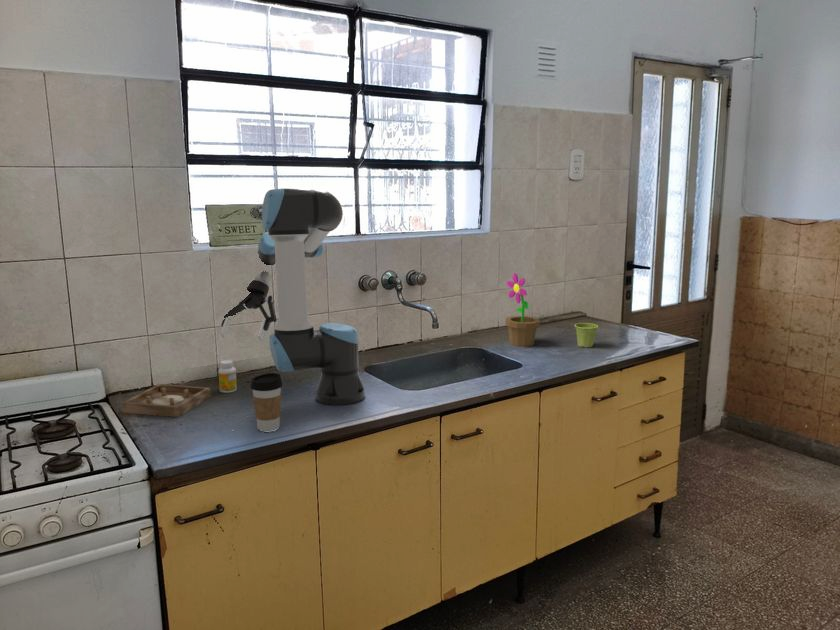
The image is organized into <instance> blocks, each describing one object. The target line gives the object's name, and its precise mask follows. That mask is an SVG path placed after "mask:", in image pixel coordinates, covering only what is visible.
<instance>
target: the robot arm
mask: <svg viewBox="0 0 840 630" xmlns="http://www.w3.org/2000/svg"><path fill="white" fill-rule="evenodd" d="M261 210H262V211H261V225H262V228H263V230H265V231H267V232H264V233H263V234H262V235H261V237H260V239H259V243H258V248H257V253H258V254H259V258H260V259H261V261H262V262H264V264H266V265H274V264H275V263H276V270H275V275H276V290H277V292H276V293H277V308H278V319H277V315H276V311H275V306H274V302H275V300H274V298H273V296H272V295H268V294H269V292H270V291H269V290H270V288H271V285H270V284H272V282H271V276H270V275H269V273H268V272H266V271H265V272H264V271H263V272H261V273H260V274H258V275H257V276H256V277H255V280H253V281H252V282H251V283H250V284H249V286H248V287H247V286H246V288H247V290H248V291H249V292H251V293H250V294H249V295H248V296H247V297H246V298H245V299H244V300H241V302H239V304H238V305H237V306H236V307H234V308H233V309H232V310H230V311H229V312H228V314H226V315H225V316H224V318H225V319H224V320H223V319H222V321H221V324H220V325H221V331H220V333H219V334H220V336H222V338H223V339H225V338H226V337H227V334H228V331H229V328H230V326H231V324H232V321H231V319H229V318H228V316H233V315H236V313H238V312H240V313H241V312H242V311H245V310H247V309H250V310H251V309H253V310H257V309H259V310H260V312H261V313H262V315H263V317H264V319H262V321H261V324H260V327H259V331H258V334H257V337H258V339H259V340H260V341H263V339H264V337H265V333H266V331H269V328H270V325H271V323H273V322H274V323H276V322H278V323H276V325H275V326H274V329H273V332H274V333H271V334H270V335H269V337H268V339H269V342H268V343H269V348H270V353H271V357H272V360H273V363H274V365H275V367H276V370H278V371H279V372H293V373H294V372H297V371H305V370H312V369H313V370H314V369H320V373H321V374H320V378H319V381H318V384H317V387H316V392H315V398H316V400H317V401H318V402H320V403H323V404H326V405H331V406H343V405H351V404H355V403H357V402H360V401H362V400H363V399H364V398H365V394H366V393H365V386H364V385H363V382H362V378H361V376H360V374H359V370H360V369H359V343H360V342H359V335H358V334H359V333H358V331H357V329H356V328H355V327H354V326H352V325H349V324H348V325H347V324H343V323H333V322H332V323H331V322H328V323H321V324H320V326H319V329H316V330H314V324H313V323H311V322H310V320H309V314H308V313H309V312H308V299H307V298H308V297H307V295H308V294H307V278H306V277H307V276H306V258H318V257H321V256H322V255H323V251H324V243H323V241H325V238H326V237H327V236H328V235H329V233H330V232H333V231H334V230H335V229H337V228H338V226H339V225H340V224H341V222H342V220H343V215H344V214H343V213H344V212H343V207H342V204H341V202H340V201H339V200H338V199H337V197H336V196H334V195H333V194H332V193H330V192H329V191H327V190H324V189H322V188H321V189H320V188H276V189H269V190H268V191H267V192H266V193H265V195H264V197H263V202H262V209H261ZM269 287H270V288H269ZM265 303H267V305H268V310H269V315H270V316H269V315H268V313H267V311H266V310H265V308H264V306H263V305H264V304H265ZM244 306H246V307H247V309H246V308H245V307H244ZM244 309H245V310H244ZM238 314H239V313H238ZM236 316H237V315H236Z"/></svg>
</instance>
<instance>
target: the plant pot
mask: <svg viewBox="0 0 840 630" xmlns="http://www.w3.org/2000/svg"><path fill="white" fill-rule="evenodd" d="M574 327H575V331H576V340H577V346H578V347H580V348H582V347H583V348H586V349H587V348H592V347H593V346H594V342H595V337H596V334H597V330H598V328H599V324H595V323H589V322H578V323H575V324H574Z"/></svg>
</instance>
